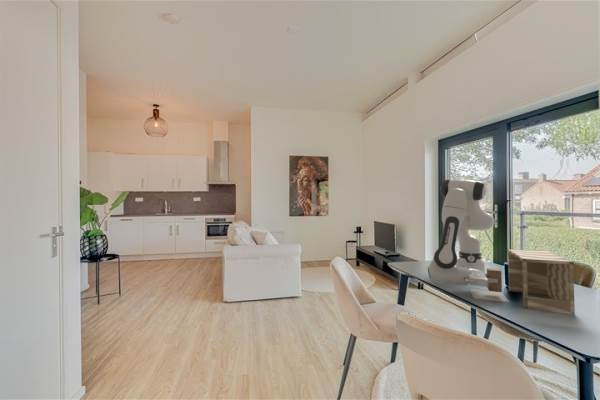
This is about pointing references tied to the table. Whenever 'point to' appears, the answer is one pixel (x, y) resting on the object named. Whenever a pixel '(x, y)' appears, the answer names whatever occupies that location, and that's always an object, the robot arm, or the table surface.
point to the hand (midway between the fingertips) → (496, 278)
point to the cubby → (542, 279)
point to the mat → (488, 295)
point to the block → (494, 274)
